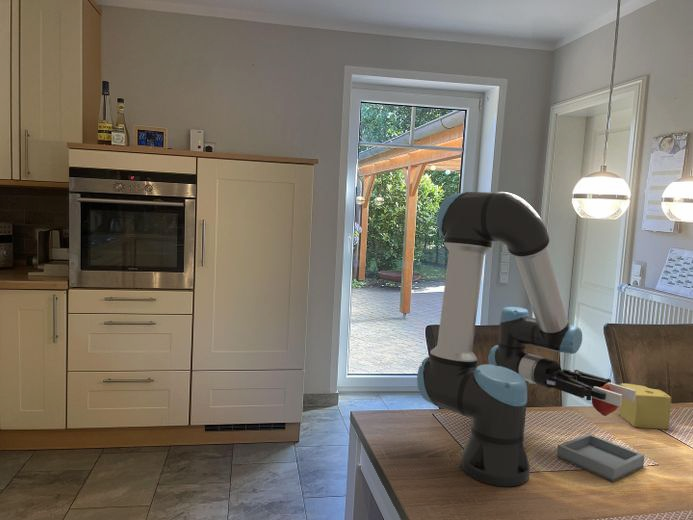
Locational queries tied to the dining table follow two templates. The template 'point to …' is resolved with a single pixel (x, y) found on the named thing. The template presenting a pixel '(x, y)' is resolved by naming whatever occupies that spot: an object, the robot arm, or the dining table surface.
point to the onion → (604, 404)
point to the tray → (601, 456)
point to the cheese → (646, 408)
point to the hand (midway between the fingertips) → (627, 398)
